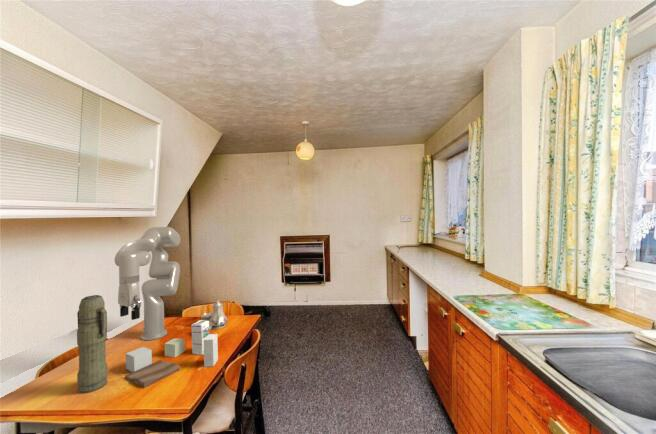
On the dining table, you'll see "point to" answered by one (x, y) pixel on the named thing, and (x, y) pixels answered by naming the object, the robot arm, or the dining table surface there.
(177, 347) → the sage block
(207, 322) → the syrup box
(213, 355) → the skincare box
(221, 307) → the chinaware
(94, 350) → the thermos
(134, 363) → the light grey block
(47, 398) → the dining table surface
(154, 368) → the walnut steps
